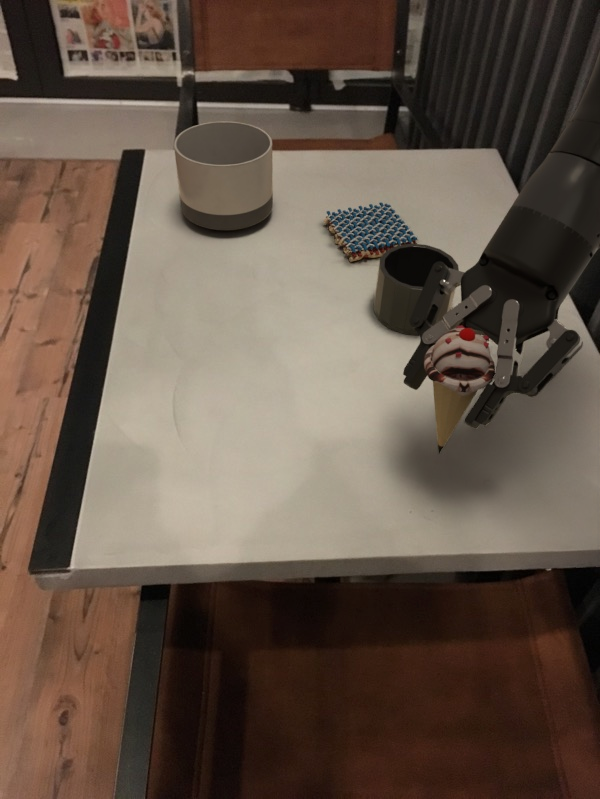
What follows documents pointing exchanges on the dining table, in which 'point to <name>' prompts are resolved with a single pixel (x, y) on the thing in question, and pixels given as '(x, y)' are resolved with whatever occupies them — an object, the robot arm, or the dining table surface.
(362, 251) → the woven mat
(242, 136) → the planter
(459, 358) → the ice cream cone
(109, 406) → the dining table surface
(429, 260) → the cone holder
